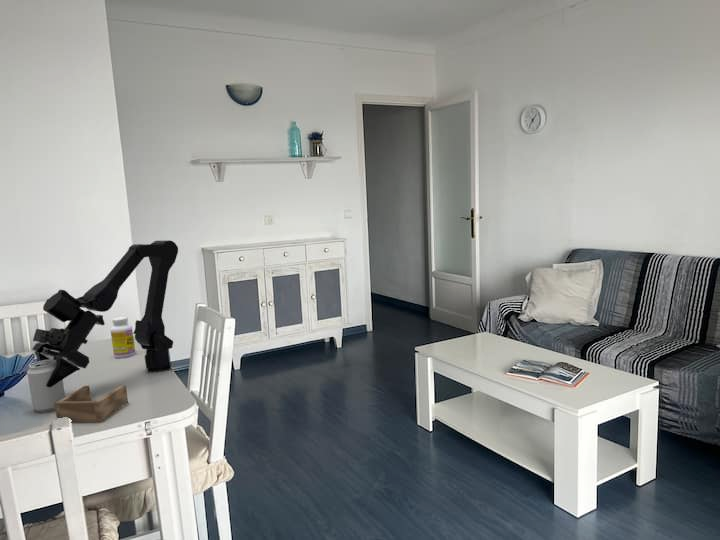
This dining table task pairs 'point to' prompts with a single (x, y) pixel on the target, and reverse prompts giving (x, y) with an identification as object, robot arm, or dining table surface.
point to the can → (44, 386)
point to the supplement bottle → (122, 338)
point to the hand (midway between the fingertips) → (40, 384)
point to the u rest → (90, 405)
